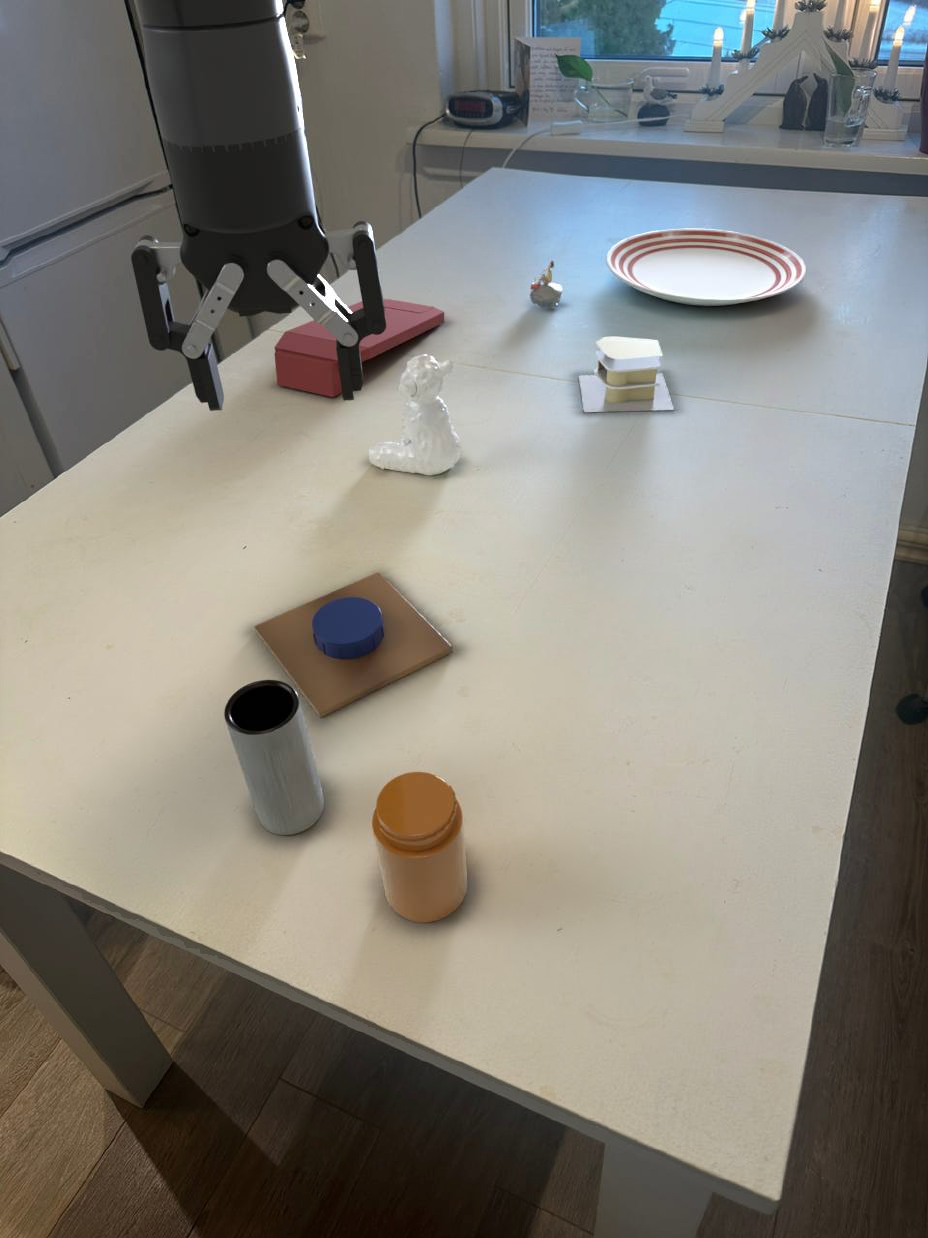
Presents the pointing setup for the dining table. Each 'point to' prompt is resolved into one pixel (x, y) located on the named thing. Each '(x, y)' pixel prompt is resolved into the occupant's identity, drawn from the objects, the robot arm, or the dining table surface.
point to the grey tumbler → (275, 755)
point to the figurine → (546, 290)
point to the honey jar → (420, 846)
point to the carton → (312, 347)
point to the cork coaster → (350, 679)
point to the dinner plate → (705, 266)
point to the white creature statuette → (421, 423)
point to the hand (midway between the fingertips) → (283, 400)
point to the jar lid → (348, 628)
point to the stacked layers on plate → (626, 377)
